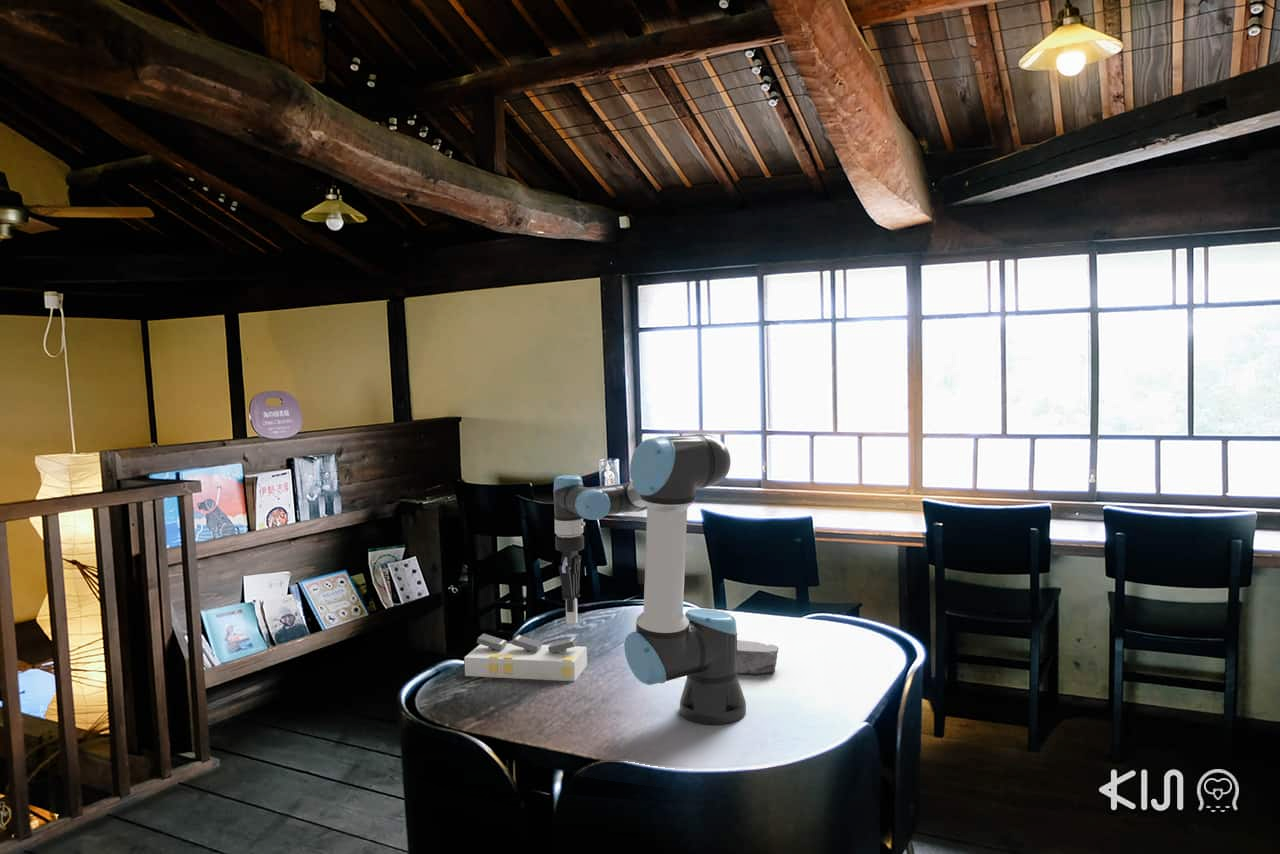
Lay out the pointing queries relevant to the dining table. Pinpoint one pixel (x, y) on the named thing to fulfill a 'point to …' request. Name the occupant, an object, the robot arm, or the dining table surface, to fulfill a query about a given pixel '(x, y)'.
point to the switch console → (526, 663)
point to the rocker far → (492, 642)
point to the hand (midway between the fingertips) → (571, 622)
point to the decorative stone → (755, 658)
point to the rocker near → (563, 644)
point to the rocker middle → (527, 643)
